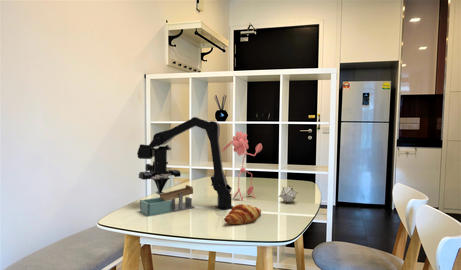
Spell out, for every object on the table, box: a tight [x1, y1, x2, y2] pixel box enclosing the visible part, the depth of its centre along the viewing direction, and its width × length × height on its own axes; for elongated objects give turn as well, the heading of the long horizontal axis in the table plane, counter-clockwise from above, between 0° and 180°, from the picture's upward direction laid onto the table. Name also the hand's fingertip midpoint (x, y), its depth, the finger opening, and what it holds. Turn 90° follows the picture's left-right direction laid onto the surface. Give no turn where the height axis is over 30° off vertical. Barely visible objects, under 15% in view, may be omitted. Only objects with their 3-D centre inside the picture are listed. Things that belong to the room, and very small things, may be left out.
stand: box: [171, 194, 196, 213], centre depth 136 cm, size 9×11×7 cm
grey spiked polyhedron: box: [278, 185, 299, 204], centre depth 147 cm, size 9×8×10 cm
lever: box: [155, 184, 194, 201], centre depth 139 cm, size 16×14×3 cm
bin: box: [139, 196, 172, 217], centre depth 129 cm, size 9×11×5 cm
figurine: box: [221, 131, 263, 202], centre depth 158 cm, size 15×26×35 cm, turn 133°
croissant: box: [223, 203, 262, 225], centre depth 119 cm, size 21×10×8 cm, turn 138°
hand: (159, 192), depth 140 cm, fingers closed, pressing on lever
